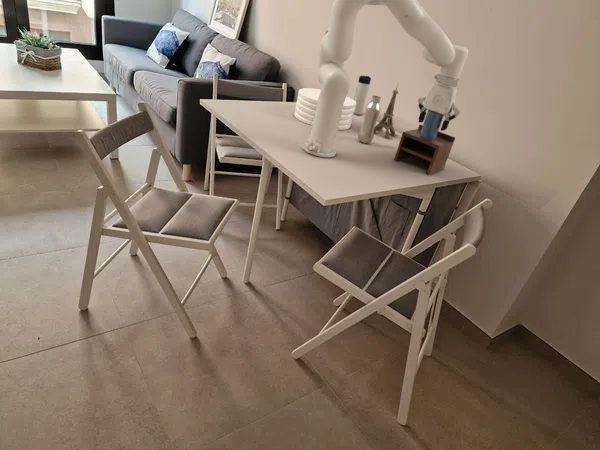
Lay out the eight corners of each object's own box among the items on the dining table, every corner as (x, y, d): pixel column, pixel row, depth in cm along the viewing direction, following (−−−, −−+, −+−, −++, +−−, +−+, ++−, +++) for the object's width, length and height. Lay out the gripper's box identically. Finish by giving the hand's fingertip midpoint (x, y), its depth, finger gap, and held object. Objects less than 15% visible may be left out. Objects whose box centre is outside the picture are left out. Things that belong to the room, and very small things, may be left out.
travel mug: (363, 114, 232) (373, 77, 222) (358, 116, 226) (368, 78, 217) (353, 111, 234) (362, 74, 224) (348, 112, 229) (357, 75, 219)
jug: (430, 141, 161) (439, 115, 156) (415, 135, 164) (423, 110, 159) (440, 138, 168) (449, 113, 163) (426, 132, 172) (435, 108, 167)
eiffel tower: (377, 129, 210) (392, 78, 198) (396, 135, 206) (413, 84, 194) (368, 131, 202) (383, 78, 190) (388, 139, 197) (405, 85, 185)
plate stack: (351, 119, 216) (356, 97, 211) (349, 134, 192) (356, 109, 186) (298, 107, 217) (302, 84, 211) (290, 120, 192) (294, 95, 187)
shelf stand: (428, 175, 163) (441, 141, 156) (393, 160, 171) (404, 127, 165) (443, 169, 173) (455, 137, 167) (409, 155, 181) (420, 124, 175)
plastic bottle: (371, 146, 182) (384, 100, 173) (356, 142, 183) (368, 96, 173) (371, 142, 188) (384, 97, 178) (357, 138, 188) (369, 93, 179)
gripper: (422, 75, 157) (407, 119, 165) (465, 88, 148) (448, 134, 157) (430, 75, 162) (416, 118, 171) (472, 87, 154) (455, 132, 162)
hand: (431, 126), depth 164 cm, fingers open, 9 cm apart
